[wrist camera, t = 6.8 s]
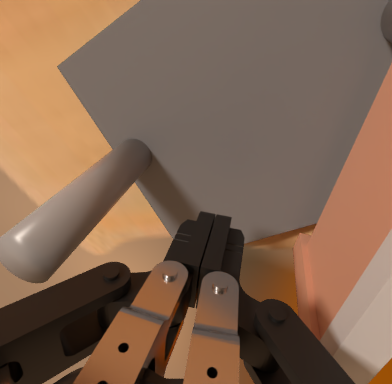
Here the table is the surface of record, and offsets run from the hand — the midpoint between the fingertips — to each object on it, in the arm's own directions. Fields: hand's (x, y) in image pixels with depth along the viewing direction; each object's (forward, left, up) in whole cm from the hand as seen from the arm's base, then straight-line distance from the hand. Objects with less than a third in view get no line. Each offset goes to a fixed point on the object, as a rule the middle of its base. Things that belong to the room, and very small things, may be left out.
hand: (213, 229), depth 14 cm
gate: (-6, +1, -3) cm, 7 cm away
